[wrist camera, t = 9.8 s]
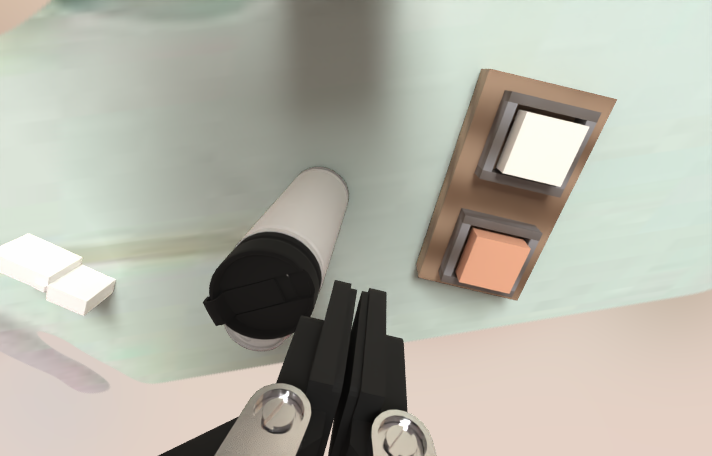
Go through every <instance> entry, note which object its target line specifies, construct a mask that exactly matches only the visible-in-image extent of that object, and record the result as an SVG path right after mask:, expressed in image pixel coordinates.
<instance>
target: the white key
mask: <svg viewBox="0 0 712 456" xmlns="http://www.w3.org/2000/svg"><path fill="white" fill-rule="evenodd" d="M588 129H589V126H585V125H581V124H577V123H573V122H569V121H565V120H561V119H557V118H552V117H548V116H544V115H540V114H536V113H531V112H527V111H523V110H518V112H517V115H516V118H515V120H514V123H513V125H512V128H511V130H510V133H509V135H508V138H507V140H506V143H505V146H504V148H503V151H502V153H501V156H500V158H499V161H498V163H497V166H496V168H497V169H498V170H500V171H501V172H502V173H504V174H508V175H513V176H517V177H521V178H525V179H529V180H534V181H538V182H542V183H546V184H550V185H555V186H559V187H561V185H562V183H563V181H564V179H565V177H566V175H567V173H568V171H569V169H570V167H571V164H572V162H573V160H574V158H575V156H576V154H577V152H578V150H579V148H580V146H581V144H582V142H583V140H584V137H585V135H586V133H587V131H588Z"/></svg>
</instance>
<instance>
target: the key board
mask: <svg viewBox="0 0 712 456" xmlns="http://www.w3.org/2000/svg"><path fill="white" fill-rule="evenodd" d="M616 101H617V99H613V98H609V97H605V96H601V95H597V94H593V93H588V92H584V91H580V90H576V89H572V88H568V87H564V86H559V85H555V84H551V83H547V82H543V81H539V80H534V79H530V78H526V77H522V76H518V75H514V74H510V73H505V72H501V71H497V70H493V69H481V72H480V75H479V78H478V81H477V84H476V87H475V90H474V93H473V96H472V99H471V102H470V105H469V108H468V111H467V114H466V117H465V120H464V123H463V126H462V129H461V132H460V135H459V138H458V141H457V144H456V147H455V150H454V153H453V156H452V159H451V162H450V165H449V168H448V171H447V174H446V177H445V180H444V183H443V186H442V189H441V192H440V195H439V198H438V201H437V203H436V206H435V209H434V212H433V215H432V218H431V221H430V224H429V227H428V230H427V233H426V236H425V239H424V242H423V245H422V248H421V251H420V254H419V257H418V260H417V263H416V265H417V272H418V277H419V278H423V279H427V280H432V281H436V282H440V283H444V284H449V285H453V286H457V287H461V288H466V289H470V290H474V291H479V292H483V293H487V294H491V295H496V296H500V297H504V298H508V299H513V300H518V298H519V296H520V294H521V292H522V290H523V288H524V286H525V284H526V282H527V280H528V278H529V276H530V274H531V272H532V270H533V268H534V266H535V264H536V262H537V260H538V258H539V256H540V254H541V252H542V250H543V248H544V245H545V243H546V241H547V239H548V237H549V235H550V233H551V231H552V229H553V227H554V225H555V223H556V221H557V219H558V217H559V215H560V213H561V211H562V209H563V207H564V205H565V203H566V201H567V199H568V197H569V195H570V193H571V191H572V189H573V187H574V185H575V183H576V181H577V179H578V177H579V175H580V173H581V171H582V169H583V167H584V165H585V163H586V161H587V159H588V157H589V155H590V153H591V151H592V149H593V147H594V145H595V143H596V141H597V139H598V137H599V135H600V133H601V131H602V129H603V127H604V125H605V123H606V121H607V119H608V117H609V115H610V113H611V111H612V109H613V107H614V105H615V103H616ZM518 110H523V111H527V112H531V113H536V114H540V115H544V116H548V117H552V118H557V119H561V120H565V121H569V122H573V123H577V124H581V125H585V126H589V129H588V131H587V133H586V135H585V137H584V140H583V142H582V144H581V146H580V148H579V150H578V152H577V154H576V156H575V158H574V160H573V162H572V164H571V167H570V169H569V171H568V173H567V175H566V177H565V179H564V181H563V183H562V185H561V187H559V186H555V185H550V184H546V183H542V182H538V181H534V180H529V179H525V178H521V177H517V176H513V175H508V174H504V173H502V172H501V171H500V170H498V169H497V168H496V166H497V163H498V161H499V158H500V156H501V153H502V151H503V148H504V146H505V143H506V140H507V138H508V135H509V133H510V130H511V128H512V125H513V123H514V120H515V118H516V115H517V112H518ZM472 228H477V229H481V230H485V231H489V232H494V233H498V234H502V235H506V236H510V237H515V238H519V239H523V240H524V241H525V242H526V244H527V245H528V246H529V247H530V249H531V250H530V252H529V254H528V256H527V258H526V260H525V262H524V264H523V266H522V268H521V271H520V273H519V275H518V277H517V279H516V281H515V283H514V285H513V287H512V289H511V291H510V293H509V294H508V293H504V292H499V291H495V290H491V289H486V288H482V287H478V286H474V285H469V284H465V283H461V282H459V281H458V278H457V275H456V272H455V271H456V268H457V266H458V263H459V261H460V258H461V256H462V253H463V250H464V248H465V245H466V243H467V240H468V238H469V235H470V233H471V230H472Z"/></svg>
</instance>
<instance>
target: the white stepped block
mask: <svg viewBox="0 0 712 456" xmlns="http://www.w3.org/2000/svg"><path fill="white" fill-rule="evenodd" d="M82 259H83V257H81V256H79V255H76V254H74V253H72V252H70V251H68V250H65V249H63V248H61V247H59V246H56V245H54V244H52V243H50V242H47V241H45V240H43V239H41V238H38V237H36V236H34V235H32V234H29V233H28V234H26V235H24V236H21V237H19V238H17V239H15V240H12V241H10V242H8V243H6V244H3V245H1V246H0V273H3V274H5V275H7V276H9V277H12V278H14V279H16V280H19V281H21V282H23V283H26V284H28V285H30V286H33V287H35V289H37V290H39V291H42V292H47V295H46V300H48V301H50V302H52V303H55V304H57V305H59V306H62V307H64V308H66V309H69V310H71V311H73V312H76V313H78V314H80V315H83V316H84V315H86V314H87V313H88V312H89V311H91V310H92V309H93V308H94V307H96V306H97V305H98V304H99V303H101V302H102V301H103V300H104V299H106V298H107V297H108V296H110V295H111V294H112V293H113V290H114V286H115V282H116V279H114V278H111V277H109V276H107V275H105V274H102V273H100V272H98V271H96V270H93V269H91V268H89V267H87V266H84V265H82Z"/></svg>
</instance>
